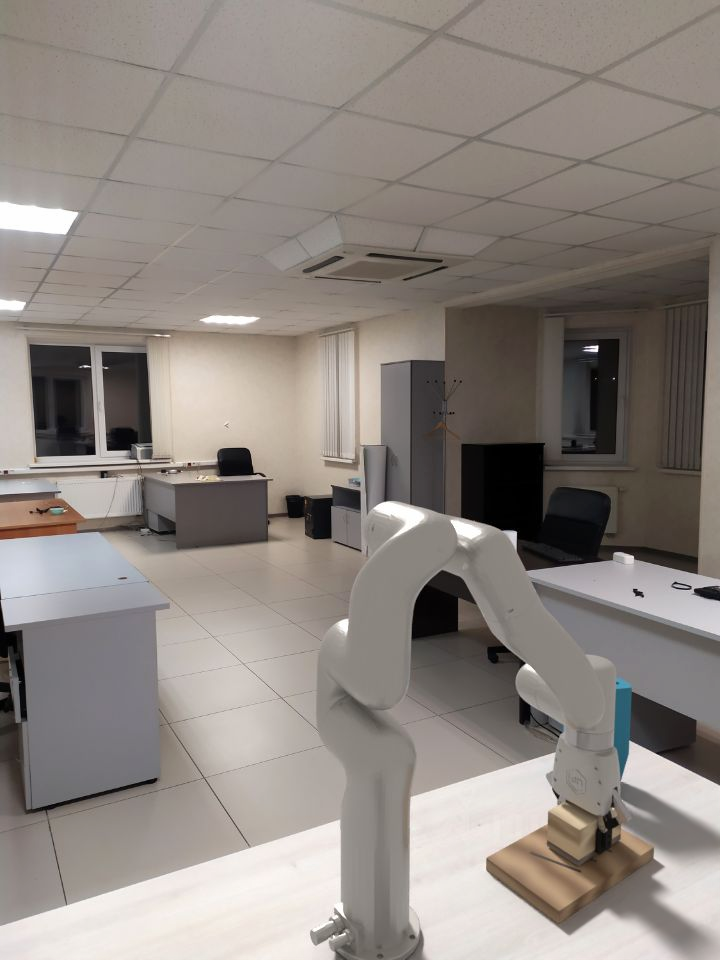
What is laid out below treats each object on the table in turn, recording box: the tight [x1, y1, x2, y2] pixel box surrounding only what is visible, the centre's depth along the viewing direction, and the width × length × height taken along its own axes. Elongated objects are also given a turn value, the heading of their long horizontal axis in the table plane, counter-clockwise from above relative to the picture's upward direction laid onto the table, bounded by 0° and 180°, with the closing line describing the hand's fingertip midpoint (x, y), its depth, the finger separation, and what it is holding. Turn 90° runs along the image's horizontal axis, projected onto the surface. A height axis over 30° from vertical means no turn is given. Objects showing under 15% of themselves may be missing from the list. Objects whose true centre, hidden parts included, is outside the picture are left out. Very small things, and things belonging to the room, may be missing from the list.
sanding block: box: [547, 801, 622, 866], centre depth 110 cm, size 11×6×6 cm, turn 126°
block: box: [562, 676, 633, 783], centre depth 131 cm, size 12×5×20 cm, turn 101°
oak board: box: [485, 823, 655, 925], centre depth 109 cm, size 24×14×2 cm, turn 126°
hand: (584, 838), depth 110 cm, fingers closed on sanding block, 6 cm apart
